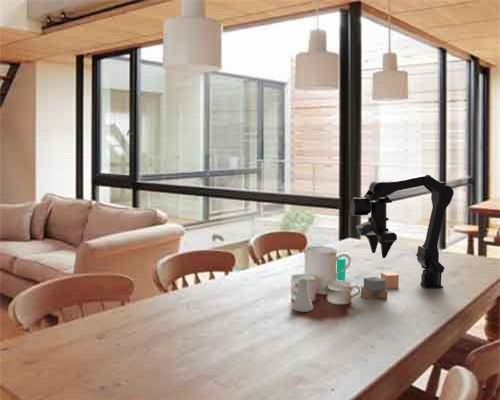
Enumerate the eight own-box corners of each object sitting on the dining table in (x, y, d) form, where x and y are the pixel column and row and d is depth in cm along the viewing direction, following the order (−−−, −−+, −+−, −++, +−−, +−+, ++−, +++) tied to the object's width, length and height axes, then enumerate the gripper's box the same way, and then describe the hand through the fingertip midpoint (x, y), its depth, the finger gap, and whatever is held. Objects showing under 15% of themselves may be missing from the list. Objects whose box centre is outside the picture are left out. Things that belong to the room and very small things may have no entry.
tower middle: (376, 286, 199) (376, 276, 198) (385, 289, 194) (385, 280, 193) (363, 287, 197) (363, 278, 196) (372, 291, 192) (372, 281, 191)
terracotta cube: (392, 284, 213) (393, 271, 213) (398, 287, 208) (398, 275, 208) (380, 284, 212) (381, 272, 212) (386, 288, 207) (386, 275, 207)
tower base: (378, 294, 200) (379, 285, 199) (387, 300, 193) (387, 290, 192) (360, 295, 198) (361, 286, 198) (368, 301, 191) (368, 291, 191)
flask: (288, 310, 180) (288, 281, 179) (296, 304, 186) (297, 276, 185) (308, 313, 177) (309, 283, 176) (316, 307, 183) (317, 278, 182)
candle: (346, 286, 210) (347, 255, 208) (330, 286, 210) (331, 255, 208) (343, 282, 216) (344, 252, 214) (328, 282, 216) (329, 252, 214)
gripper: (349, 212, 212) (349, 251, 214) (368, 219, 194) (368, 262, 196) (375, 211, 214) (375, 250, 216) (397, 217, 196) (397, 260, 198)
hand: (378, 255), depth 206 cm, fingers open, 9 cm apart
